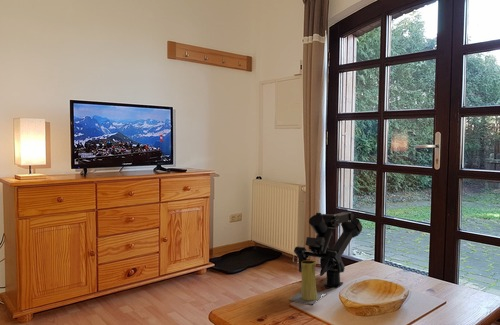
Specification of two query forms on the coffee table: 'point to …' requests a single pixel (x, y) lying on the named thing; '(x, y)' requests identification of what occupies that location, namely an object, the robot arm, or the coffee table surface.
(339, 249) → the robot arm
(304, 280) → the vase
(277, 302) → the coffee table surface
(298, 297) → the mat
